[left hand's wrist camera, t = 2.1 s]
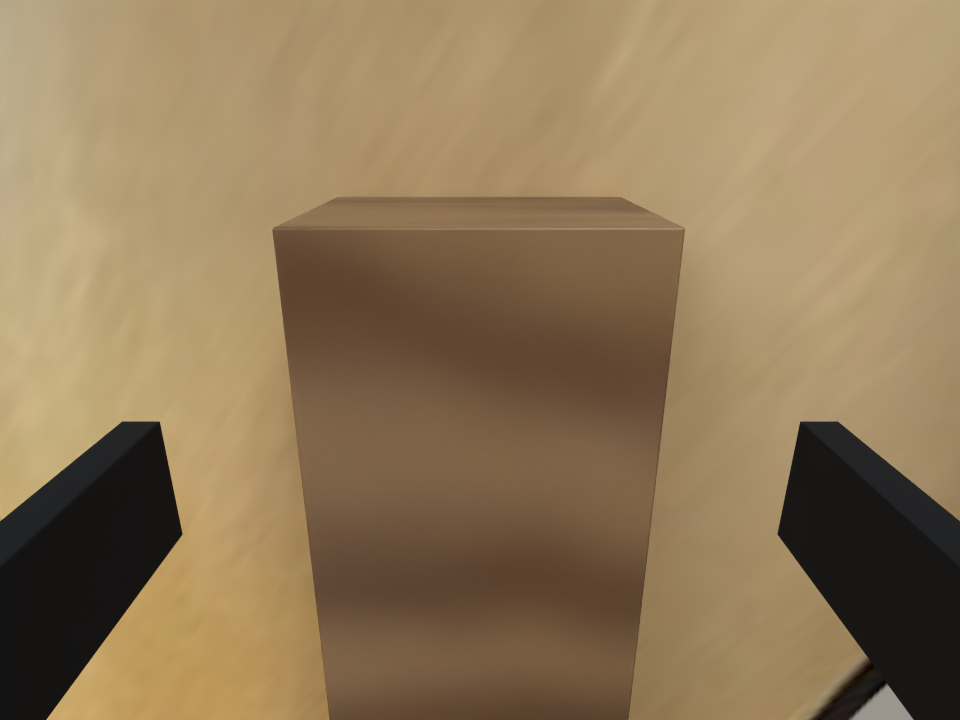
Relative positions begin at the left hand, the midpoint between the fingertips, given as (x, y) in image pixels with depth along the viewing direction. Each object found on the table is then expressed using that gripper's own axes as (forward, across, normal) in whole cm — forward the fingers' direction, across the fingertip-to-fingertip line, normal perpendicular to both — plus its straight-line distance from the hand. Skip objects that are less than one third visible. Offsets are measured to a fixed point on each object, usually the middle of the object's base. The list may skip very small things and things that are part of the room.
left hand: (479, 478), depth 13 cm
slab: (+12, 0, -21) cm, 24 cm away
